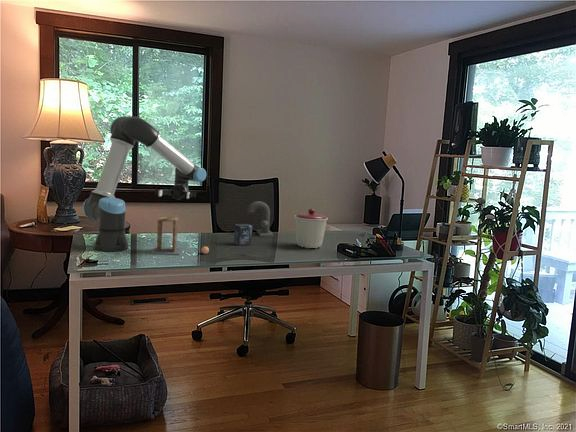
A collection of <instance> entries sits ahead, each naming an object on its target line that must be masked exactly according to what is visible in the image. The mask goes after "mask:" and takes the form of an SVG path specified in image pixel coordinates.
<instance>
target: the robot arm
mask: <svg viewBox="0 0 576 432" xmlns="http://www.w3.org/2000/svg"><path fill="white" fill-rule="evenodd" d="M109 132H110V139H109V140H110V141H111V144H110V148H109V151H108V154H107V156H106V160H105V162H104V165H103V168H102V172H101V173H100V177H99V180H98V182H97V186H96V188H95V189H94V190H92V191H91V192H90V196H89V197H88V198H86V199H85V200H84V202H83V203H82V213H83V215H84V216H85V217H86V219H89V221H92V222H94V223H95V222H96V223H98V233H97V236H96V238H95V241H94V250H96V251H101V252H121V251H126V250H128V249H129V241H128V238H127V235H126V210H127V209H126V203H125V200H123V199H121V198H117V197H116V196H115V193H116V189H117V187H118V183H119V181H120V178H121V175H122V172H123V169H124V166H125V163H126V160H127V158H128V155H129V151H130V149H133V148H134V146H135V144H136V142H137V143H140V144H143V146H145V147H146V148H150V149H151V150H153V151H154V152H156V153H157V154H158V155H159V156H160V157H162V158H163V159H165V160H166V161H167V162H168V163H170V164H171V165H172V166H173V167H174V185H173V186H172V188H168V189H167V188H163V189H161V188H160V189H157V188H156V189H155V190H154V195H158V197H162V196H170V197H172V198H173V199H175V200H181V199H183V198H185V197H186V199H187V200H188V199H190V198H194V199H195V198H196V197H197V192H195V191H193V190H189V182H191V181H192V182H196V183H198V182H199V183H201V182H203V181H205V180H206V178H207V171H206V170H205V168H202V167H200V166H197V165H196V164H195V163H194V162H192V161H191V160H190V159H189V158H188V157H186V156H185V154H183V153H182V152H181V151H180V150H178V149H177V148H176V147H174V145H172V144H171V143H170V142H169V141H167V140H166V138H164V137H162V135H161V134H160V131H159V130H157V129H156V128H155V127H154V126H153V125H152V124H151V123H149V122H148V121H146V120H145V119H144V118H141V117H138V116H126V115H122V116H119V117H116V118H115V119H113V121H112V122H111V124H110V127H109Z"/></svg>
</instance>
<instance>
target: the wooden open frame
mask: <svg viewBox="0 0 576 432" xmlns="http://www.w3.org/2000/svg"><path fill="white" fill-rule="evenodd" d="M156 220H157V233H156V234H157V235H156V236H157V237H156V238H157V239H156V241H157V242H156V247H157V252H159V251H160V250H161V249H162V247H163V225H164V224H163V222H167V223H168V222H170V223H172V247H171V248H172V252H175V251H176V249H177V248H178V247H177V246H178V245H177V244H178V243H177V242H178V220H179V217H177V216H159V217H157V219H156Z"/></svg>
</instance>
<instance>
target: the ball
mask: <svg viewBox="0 0 576 432" xmlns="http://www.w3.org/2000/svg"><path fill="white" fill-rule="evenodd" d="M209 251H210V249H209V247H208V246H202V248H201V253H202V254H205V255H206V254H208V253H209Z"/></svg>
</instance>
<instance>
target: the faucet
mask: <svg viewBox="0 0 576 432" xmlns="http://www.w3.org/2000/svg"><path fill="white" fill-rule="evenodd" d="M258 209H259V210H261V211H262V217H261V221H260V226H261V228H260V229H259V228H258V229H256V233H257V235H258V234H259V235H258V236H259V238H275V234H273V232H272V231H271V230H270V222H271V221H270V220H271V219H270V218H271V210H270V207H269V205H268V204H267V203H266V202H263V201H260V200H259V201H254V202H252V203H250V205H248V208H247V211H246V212H247V213H248V214H252V213H253V214H254V213H255V211H256V210H258Z"/></svg>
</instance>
